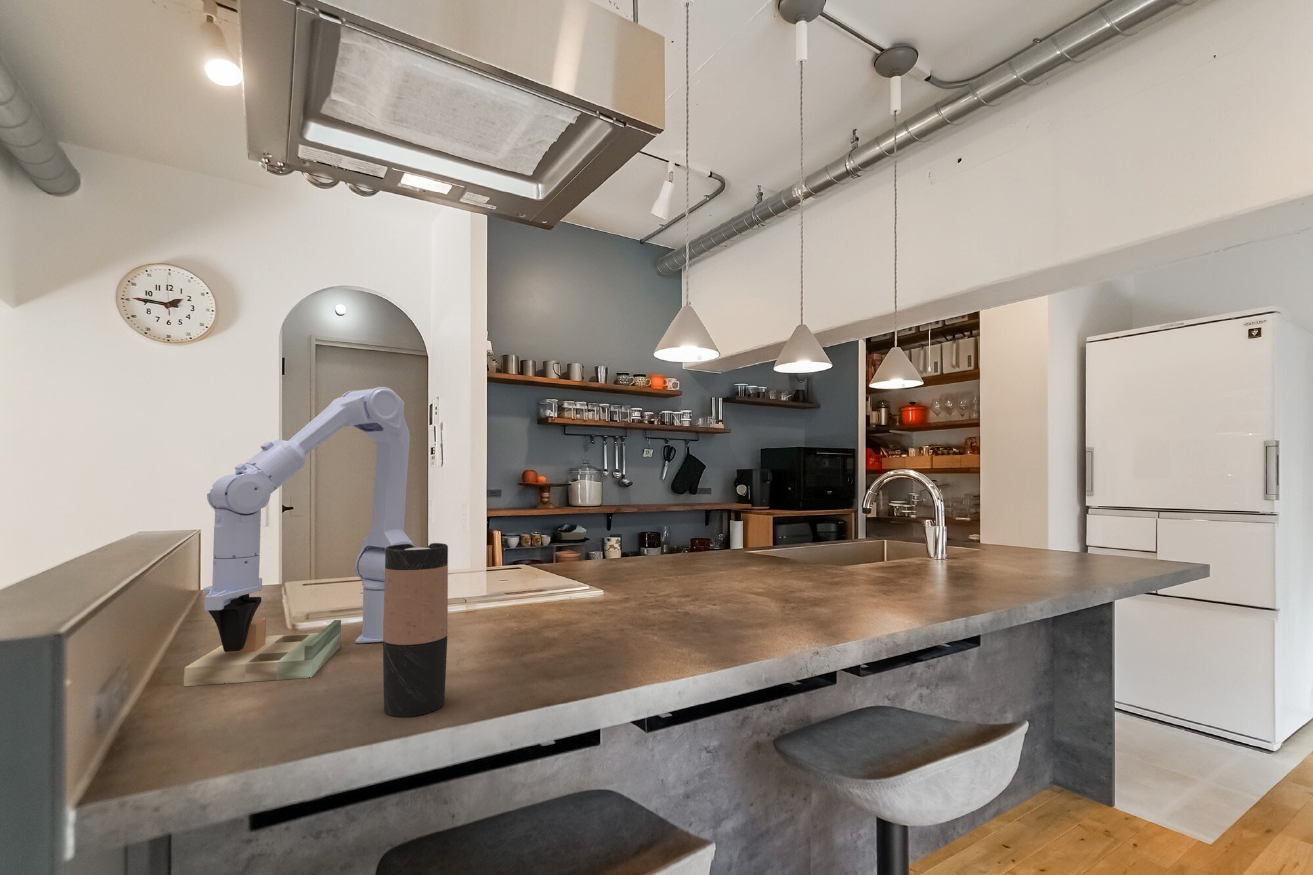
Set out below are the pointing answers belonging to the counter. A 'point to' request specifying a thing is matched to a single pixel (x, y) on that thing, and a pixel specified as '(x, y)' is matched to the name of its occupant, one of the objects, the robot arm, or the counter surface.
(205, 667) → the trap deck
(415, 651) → the travel mug
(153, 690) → the counter surface
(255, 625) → the block
